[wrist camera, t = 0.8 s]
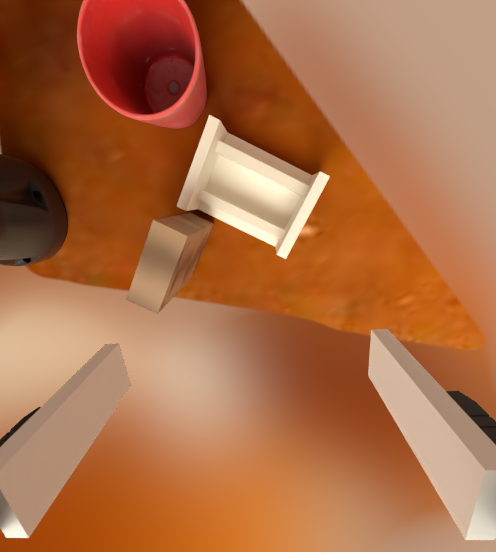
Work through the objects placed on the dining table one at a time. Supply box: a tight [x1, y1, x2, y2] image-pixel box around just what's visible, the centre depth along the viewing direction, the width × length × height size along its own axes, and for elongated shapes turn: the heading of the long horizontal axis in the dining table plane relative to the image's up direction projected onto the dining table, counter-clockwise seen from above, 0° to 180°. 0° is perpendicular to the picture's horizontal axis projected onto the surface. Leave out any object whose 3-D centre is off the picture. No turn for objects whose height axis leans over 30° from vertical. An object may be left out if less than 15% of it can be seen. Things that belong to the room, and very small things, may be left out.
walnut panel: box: [127, 213, 214, 314], centre depth 30 cm, size 9×4×12 cm, turn 155°
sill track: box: [177, 115, 330, 259], centre depth 30 cm, size 14×10×6 cm
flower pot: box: [77, 0, 207, 129], centre depth 26 cm, size 11×11×10 cm
